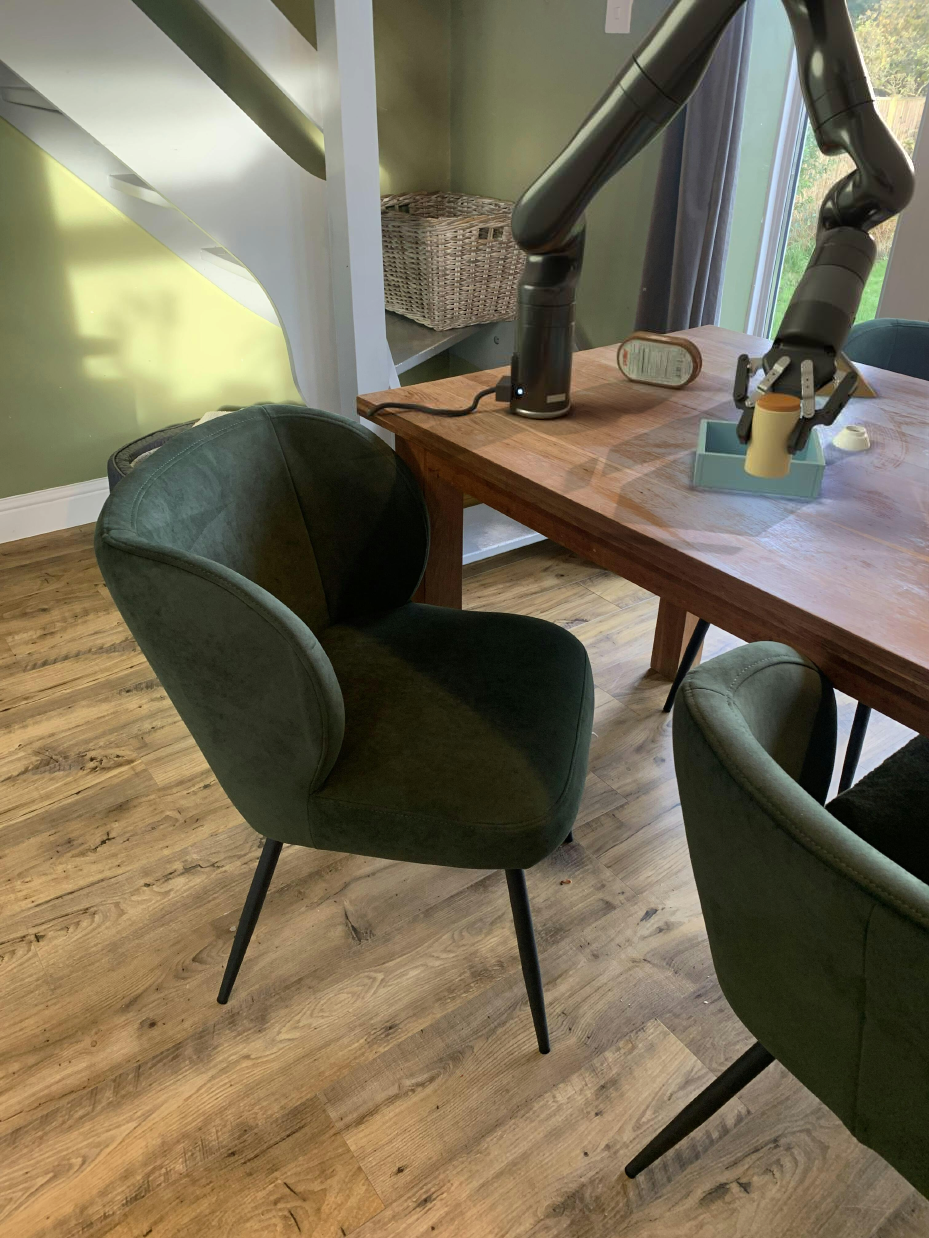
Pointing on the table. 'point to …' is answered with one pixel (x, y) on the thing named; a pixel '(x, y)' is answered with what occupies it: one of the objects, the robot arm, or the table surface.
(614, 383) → the table surface
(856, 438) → the cream truncated cone
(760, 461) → the lidded cream canister
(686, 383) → the tin
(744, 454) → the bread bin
